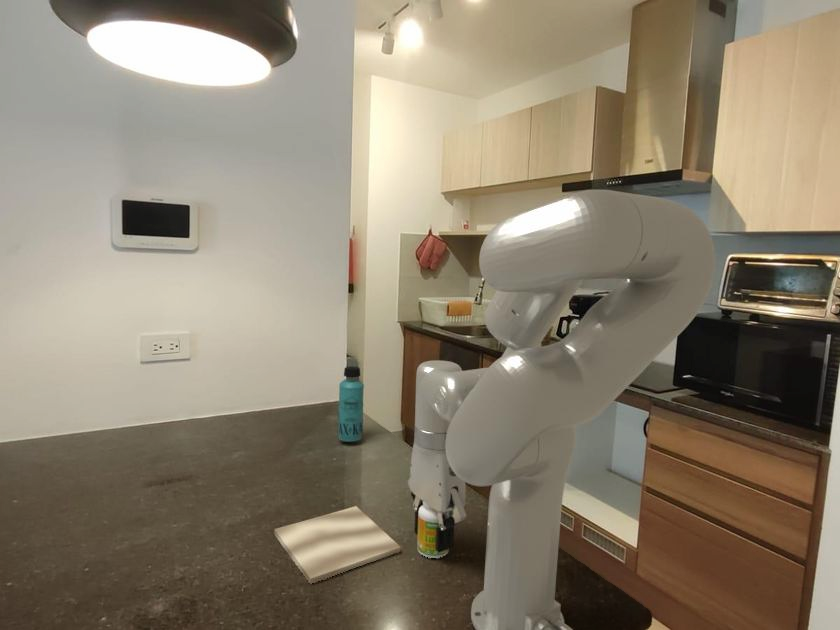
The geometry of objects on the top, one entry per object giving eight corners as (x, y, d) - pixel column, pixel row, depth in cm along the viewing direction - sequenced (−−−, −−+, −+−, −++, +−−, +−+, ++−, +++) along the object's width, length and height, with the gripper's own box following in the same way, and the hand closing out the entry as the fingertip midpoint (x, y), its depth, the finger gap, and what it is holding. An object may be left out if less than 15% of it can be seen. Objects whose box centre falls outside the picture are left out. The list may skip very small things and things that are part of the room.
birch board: (400, 552, 86) (400, 547, 86) (310, 584, 77) (310, 578, 77) (356, 511, 99) (356, 506, 99) (274, 534, 90) (274, 529, 90)
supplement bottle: (421, 561, 84) (423, 504, 83) (413, 543, 89) (415, 490, 88) (453, 557, 85) (455, 501, 84) (443, 539, 91) (445, 487, 89)
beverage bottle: (334, 439, 135) (335, 365, 133) (358, 436, 138) (360, 363, 136) (341, 448, 130) (342, 371, 127) (366, 445, 132) (368, 369, 130)
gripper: (489, 449, 80) (484, 558, 82) (425, 418, 94) (422, 512, 96) (451, 458, 76) (446, 574, 78) (390, 425, 90) (388, 523, 92)
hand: (433, 539), depth 87 cm, fingers closed on supplement bottle, 5 cm apart
